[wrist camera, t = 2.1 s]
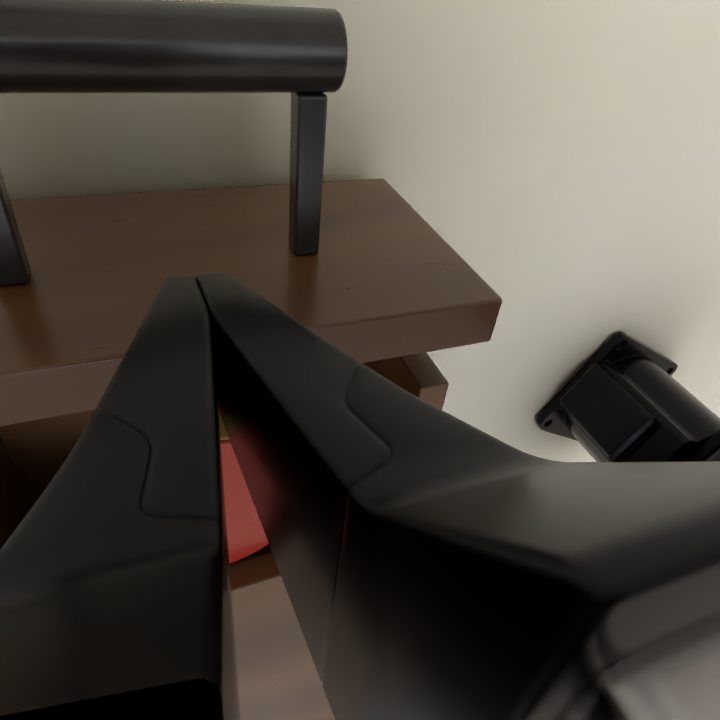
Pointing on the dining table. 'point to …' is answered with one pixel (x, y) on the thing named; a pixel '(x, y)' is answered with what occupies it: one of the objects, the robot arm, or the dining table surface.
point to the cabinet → (272, 648)
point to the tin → (238, 506)
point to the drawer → (202, 224)
